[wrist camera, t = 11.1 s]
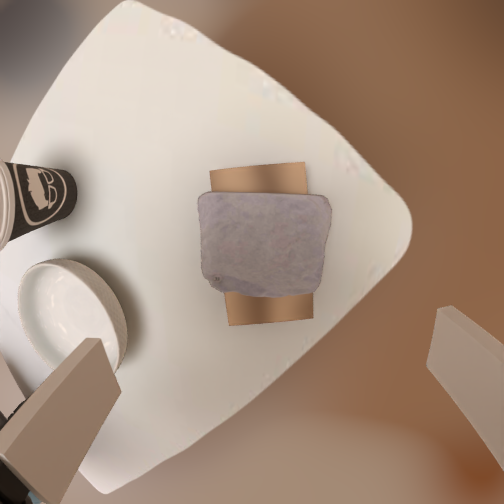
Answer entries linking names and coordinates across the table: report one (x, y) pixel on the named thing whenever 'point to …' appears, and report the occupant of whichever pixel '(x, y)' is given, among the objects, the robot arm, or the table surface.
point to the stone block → (263, 242)
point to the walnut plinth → (264, 181)
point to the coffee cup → (32, 198)
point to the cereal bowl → (70, 311)
